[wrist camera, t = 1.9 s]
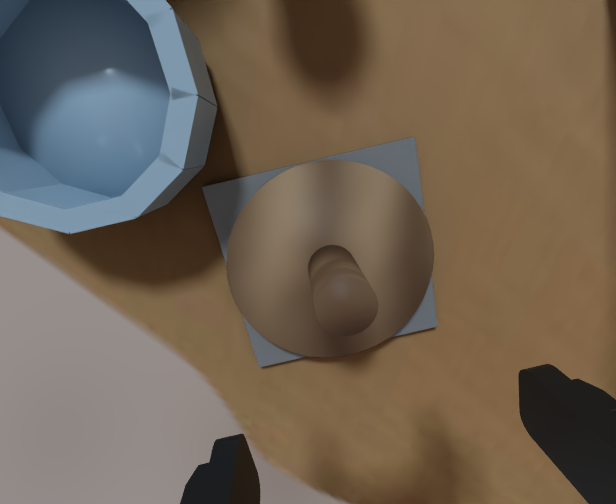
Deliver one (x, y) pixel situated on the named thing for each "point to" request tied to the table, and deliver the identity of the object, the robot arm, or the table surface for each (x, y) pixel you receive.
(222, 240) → the mat
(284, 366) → the table surface
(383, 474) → the table surface
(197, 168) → the bowl
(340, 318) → the lid
